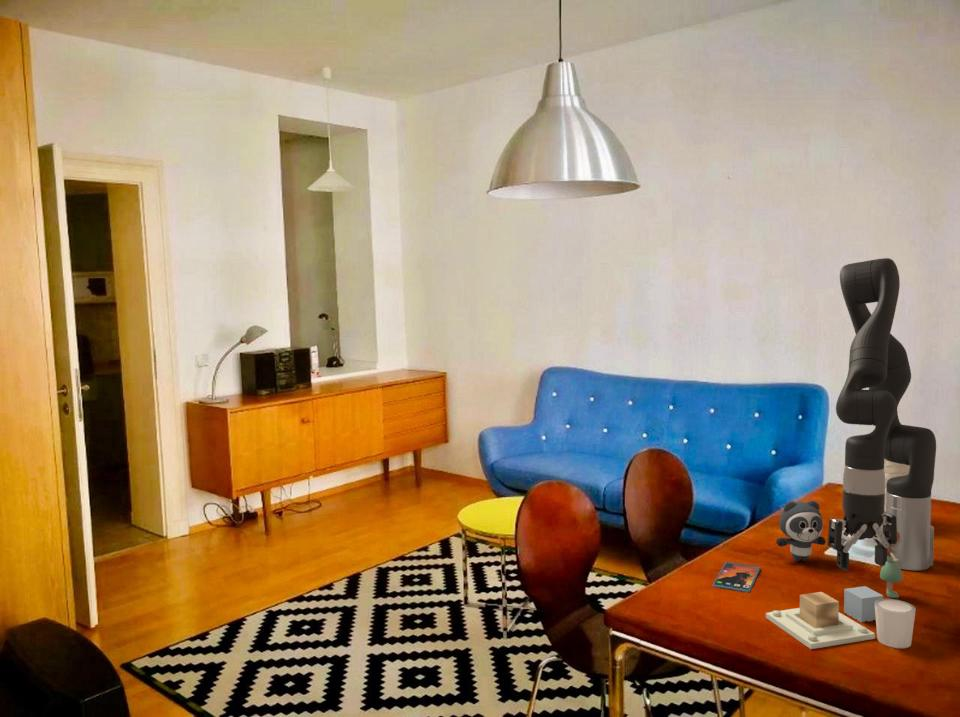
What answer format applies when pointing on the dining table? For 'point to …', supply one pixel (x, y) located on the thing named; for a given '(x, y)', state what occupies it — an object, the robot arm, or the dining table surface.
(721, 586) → the smartphone
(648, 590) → the dining table surface
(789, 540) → the toy
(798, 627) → the baseplate
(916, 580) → the dining table surface
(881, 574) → the toy
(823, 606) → the tan wooden cube
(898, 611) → the white cup
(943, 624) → the dining table surface
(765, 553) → the dining table surface
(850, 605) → the grey cube
